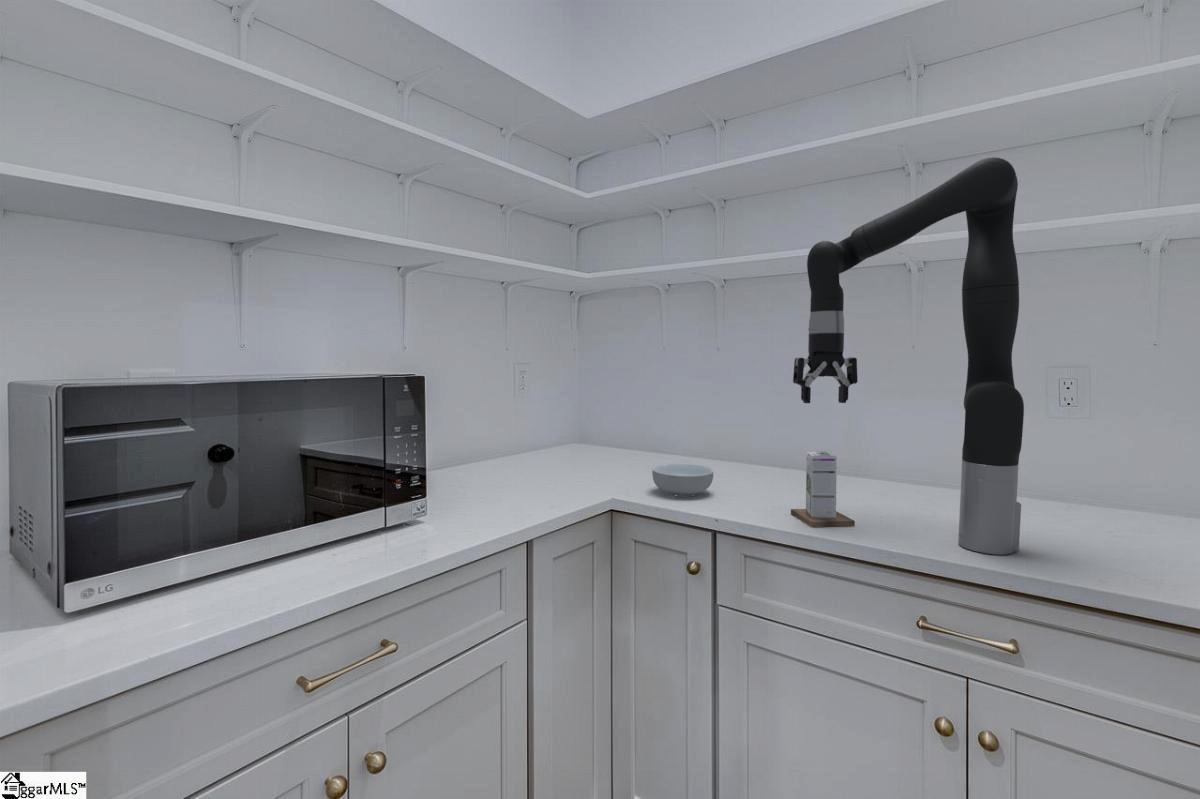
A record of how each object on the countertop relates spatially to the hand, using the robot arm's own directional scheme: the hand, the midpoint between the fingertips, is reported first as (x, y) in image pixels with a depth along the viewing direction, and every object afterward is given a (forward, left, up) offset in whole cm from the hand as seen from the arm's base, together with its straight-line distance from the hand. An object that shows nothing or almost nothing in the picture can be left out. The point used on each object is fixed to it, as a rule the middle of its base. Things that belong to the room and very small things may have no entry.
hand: (824, 402), depth 132 cm
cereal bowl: (+26, -29, -28) cm, 48 cm away
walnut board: (0, 0, -27) cm, 27 cm away
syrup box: (0, 0, -26) cm, 26 cm away
